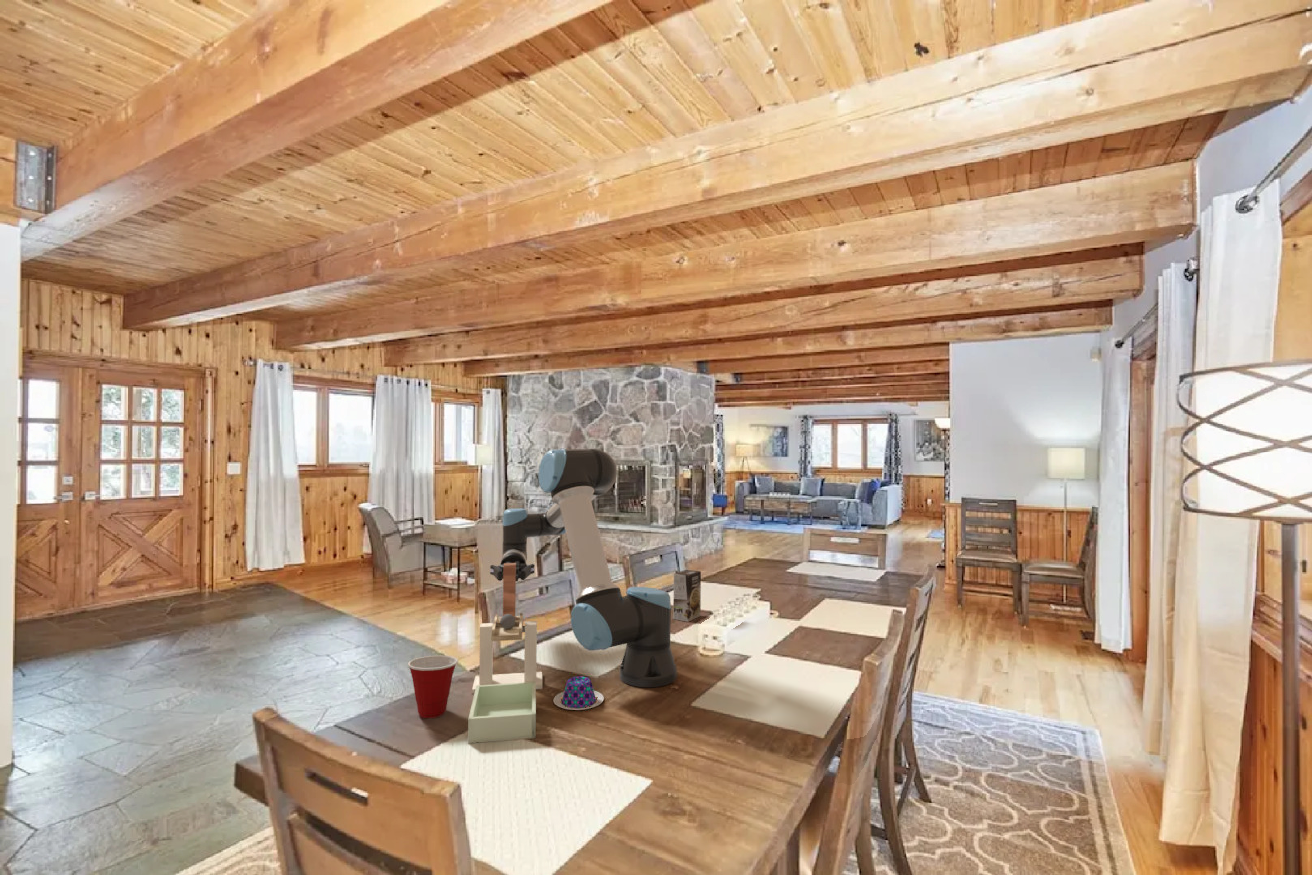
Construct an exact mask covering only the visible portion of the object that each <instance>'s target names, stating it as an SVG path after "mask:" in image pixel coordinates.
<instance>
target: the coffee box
mask: <svg viewBox="0 0 1312 875" xmlns="http://www.w3.org/2000/svg"><path fill="white" fill-rule="evenodd" d="M701 585H702V571H700V570H691V569H685V570H682V571H678V572H674V573H673V601H672V602H673V609H672V610H673V612H672V614H673V615H672V619H673V620H676V621H681V622H686V623H688V622H691V621H693V620H695V619H697V618H699V617H701V610H702V609H701V607H702V606H701V604H702V603H701V601H702V600H701V598H702V597H701V595H702V594H701V592H702V591H701V590H702V589H701V588H702V586H701Z"/></svg>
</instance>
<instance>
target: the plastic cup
mask: <svg viewBox="0 0 1312 875" xmlns="http://www.w3.org/2000/svg"><path fill="white" fill-rule="evenodd" d="M458 662H459V659H458V658H456V657H455V656H451V655H450V656H449V655H427V656H423V657H417V658H414V659H412V660H410V661H408V663H407V666H408V668H409V670H410V673H411V679H412V684H413V691H414V697H415V702H416V707H417V708H416V709H417V712H418V715H419V718H423V719H434V718H438V717H441V716H443V715H444V714H445V713H446V710H447V706H448V700H449V696H450V690H451V686H452V679H453V675H454V672H455V668H456V665H457V664H458Z"/></svg>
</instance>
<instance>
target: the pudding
mask: <svg viewBox="0 0 1312 875" xmlns="http://www.w3.org/2000/svg"><path fill="white" fill-rule="evenodd" d="M560 697H563V699H562V701H561V698H560ZM595 697H598V698H597V700H596V698H595ZM604 700H605V697H604V695H603V694H602V693H600V692H599V691H596V690H594V686H593V682H592V680H591V679H590V678H589V677H587V676H582V675H581V676H573V677H571V678H569V679H567V681H566V683H565V688H564V691H562V692H560V693H557V694H556V695H555V696H554V698H553V703H554V705H556V706H557V707H559V708H562V709H565V710H570V711H571V710H572V711H573V710H575V711H581V710H583V711H584V710H589V709H591V708H595V707H597V706H599V705H601V704H602V703H603V701H604ZM559 701H561V703H560V702H559ZM596 701H598V702H597V703H595V702H596ZM565 706H566V707H565ZM585 706H586V708H585ZM589 706H591V707H589Z"/></svg>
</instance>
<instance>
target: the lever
mask: <svg viewBox="0 0 1312 875" xmlns="http://www.w3.org/2000/svg"><path fill="white" fill-rule="evenodd" d="M502 581H503V582H502V584H503V585H502V586H503V587H502V616H504V615H505V614H511V615H513V616H514V618H515V625H514V626H513V627H512V628H511V629H504V628H502V626H501V624H500V620H501V618H502V616H499V614H494V615H495V616H494V619H493V622H492V623H493V627H492V636H491V641H493V642H500V641H501V642H502V641H503V642H504V641H521V640H523V632H522V631H523V626H524V615H523V613H522V612H520V614H519V615H516V603H517V602H516V596H517V594H516V592H517V591H516V590H517V589H516V588H517V587H516V586H517V581H516V563H504V565H503V579H502Z"/></svg>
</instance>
